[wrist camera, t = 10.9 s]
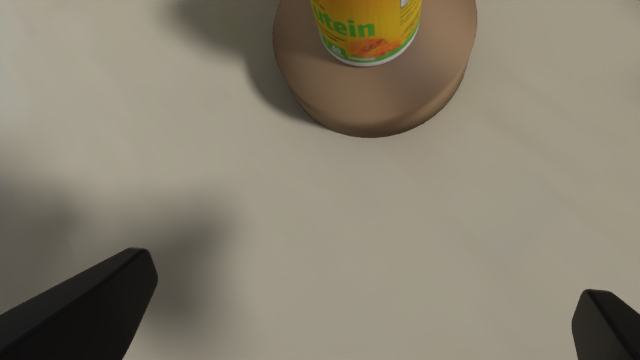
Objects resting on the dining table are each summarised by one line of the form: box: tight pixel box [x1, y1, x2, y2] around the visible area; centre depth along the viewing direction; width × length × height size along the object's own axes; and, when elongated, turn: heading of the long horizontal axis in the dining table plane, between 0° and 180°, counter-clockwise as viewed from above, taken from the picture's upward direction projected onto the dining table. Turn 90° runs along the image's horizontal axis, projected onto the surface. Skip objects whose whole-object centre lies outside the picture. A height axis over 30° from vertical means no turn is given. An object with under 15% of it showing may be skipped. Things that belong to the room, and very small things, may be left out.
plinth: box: [273, 0, 477, 138], centre depth 24 cm, size 11×11×3 cm
